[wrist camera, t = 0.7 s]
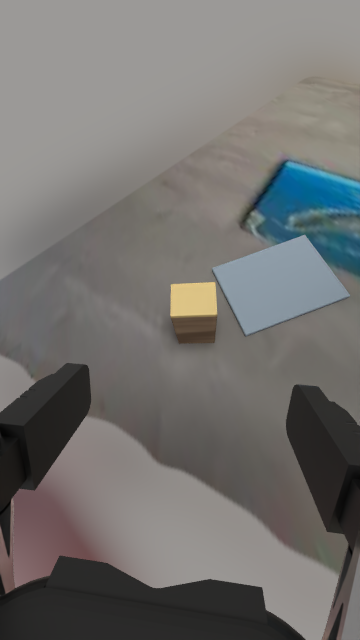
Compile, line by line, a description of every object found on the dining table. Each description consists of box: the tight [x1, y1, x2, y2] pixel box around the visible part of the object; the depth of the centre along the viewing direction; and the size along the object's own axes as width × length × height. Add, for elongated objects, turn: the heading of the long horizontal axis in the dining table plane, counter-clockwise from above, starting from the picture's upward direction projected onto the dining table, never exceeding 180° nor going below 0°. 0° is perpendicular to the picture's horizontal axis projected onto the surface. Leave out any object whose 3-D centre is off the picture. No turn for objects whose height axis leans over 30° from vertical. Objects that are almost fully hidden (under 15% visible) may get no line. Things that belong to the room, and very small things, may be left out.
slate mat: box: [212, 235, 350, 336], centre depth 38 cm, size 16×12×1 cm
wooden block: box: [171, 282, 217, 344], centre depth 32 cm, size 4×5×10 cm
